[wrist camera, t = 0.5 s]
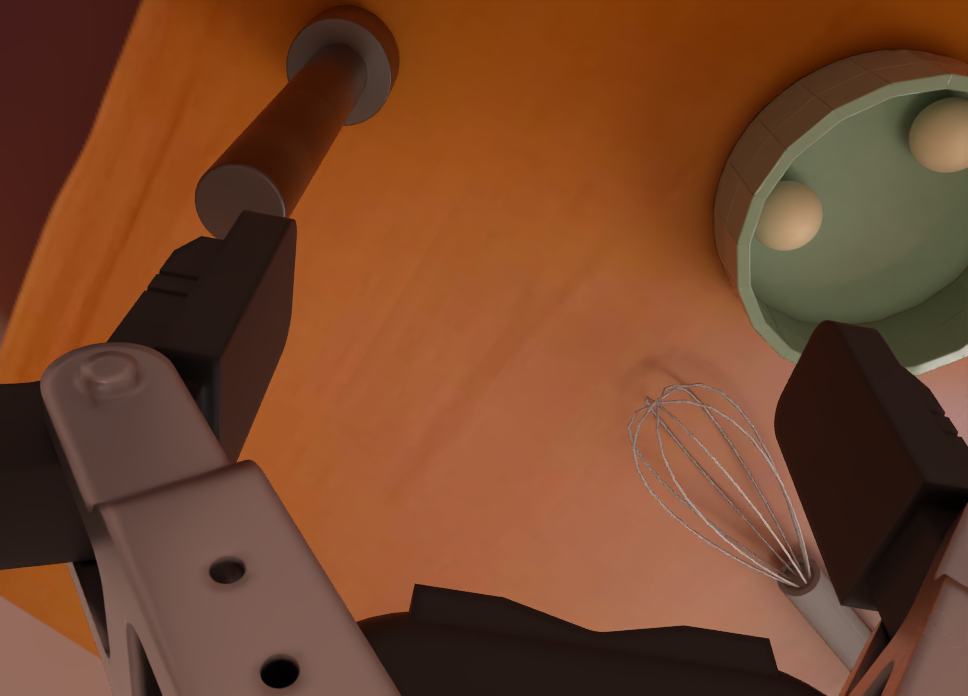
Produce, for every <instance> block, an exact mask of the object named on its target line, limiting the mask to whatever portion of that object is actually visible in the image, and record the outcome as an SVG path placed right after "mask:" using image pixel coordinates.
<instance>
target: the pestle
mask: <svg viewBox="0 0 968 696" xmlns="http://www.w3.org/2000/svg"><path fill="white" fill-rule="evenodd" d="M286 67H287V77H288V81H289V83H288V84H287V85H286V86H285V87H284V88H283V89H282V90H281V91H280V93H279V94H278V95H277V96H276V97H275V98H274V99H273V100H272V101H271V102H270V103H269V104H268V106H267V107H266V108H265V109H264V110H263V111H262V112H261V113H260V114H259V115H258V116H257V117H256V119H255V120H254V121H253V122H252V123H251V124H250V125H249V126H248V127H247V128H246V129H245V130H244V131H243V133H242V134H241V135H240V136H239V137H238V138H237V139H236V140H235V141H234V142H233V143H232V144H231V146H230V147H229V148H228V149H227V150H226V151H225V152H224V153H223V154H222V155H221V156H220V157H219V159H218V160H217V161H216V162H215V163H214V164H213V165H212V166H211V167H210V168H209V169H208V170H207V171H206V173H205V174H204V175H203V176H202V177H201V179H200V180H199V182H198V184H197V187H196V191H195V206H196V210H197V213H198V216H199V218H200V220H201V222H202V224H203V225H204V226H205V228H206V229H207V230H208V231H209V232H210V233H211V234H212V235H213V236H214V237H216V238H217V239H220V240H224V238H225V237H226V235H227V234H228V232H229V231H230V229H231V228H232V226H233V225H234V223H235V221H236V220H237V218H238V217H239V215H240V214H241V212H242V211H244V210H247V211H252V212H258V213H263V214H268V215H274V216H279V217H285V218H289V217H290V215H291V213H292V212H293V210H294V208H295V207H296V205H297V203H298V202H299V200H300V198H301V196H302V195H303V193H304V191H305V190H306V188H307V186H308V184H309V183H310V181H311V179H312V178H313V176H314V174H315V173H316V171H317V169H318V167H319V166H320V164H321V162H322V161H323V159H324V157H325V156H326V154H327V152H328V150H329V149H330V147H331V145H332V144H333V142H334V140H335V138H336V137H337V135H338V133H339V132H340V130H341V128H342V127H343V126H348V125H355V124H358V123H362V122H364V121H366V120H368V119H369V118H371V117H372V116H374V115H375V114H376V113H377V112H378V111H379V110H380V109H381V108H382V106H383V105H384V103H385V101H386V99H387V97H388V95H389V93H390V91H391V89H392V87H393V85H394V83H395V80H396V78H397V74H398V70H399V52H398V48H397V45H396V42H395V39H394V37H393V35H392V33H391V32H390V30H389V29H388V27H387V26H386V25H385V24H384V23H383V22H382V21H381V20H380V19H379V18H378V17H376V16H375V15H374V14H372V13H370V12H368V11H366V10H364V9H361V8H358V7H353V6H339V7H334V8H331V9H328V10H326V11H324V12H322V13H321V14H320V15H318V16H317V17H316V18H315V19H313V20H312V21H311V22H310V23H309V24H308V25H307V26H306V27H305V28H303V29H302V30H301V31H300V32H299V33H298V35H297V36H296V37H295V39H294V40H293V42H292V44H291V46H290V49H289V52H288V56H287V64H286Z"/></svg>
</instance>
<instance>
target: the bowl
mask: <svg viewBox="0 0 968 696" xmlns="http://www.w3.org/2000/svg"><path fill="white" fill-rule="evenodd" d="M950 97H962V98H967V99H968V64H966V63H964V62H961V61H959V60H957V59H954V58H951V57H945V56H942V55H938V54H933V53H929V52H925V51H916V50H905V49H900V50H881V51H875V52H869V53H864V54H859V55H855V56H852V57H849V58H846V59H842V60H839V61H836V62H834V63H832V64H830V65H827V66H825V67H823V68H820V69H818V70H816V71H814V72H813V73H811V74H809V75H808V76H806V77H804V78H802V79H801V80H799V81H797V82H796V83H794V84H793V85H792V86H790V87H789V88H788V89H786V90H785V91H784V92H782V93H781V94H779V95H778V96H777V97H776V98H775V99H774V100H773V101H772V102H771V103H770V104H769V105H767V106H766V107H765V108H764V109H763V110H762V111H761V112H760V113H759V115H758V116H757V117H756V118H755V119H754V120H753V122H752V123H751V124H750V125H749V126H748V127H747V129H746V130H745V132H744V133H743V135H742V136H741V138H740V139H739V141H738V142H737V143H736V145H735V147H734V149H733V151H732V153H731V155H730V156H729V158H728V160H727V162H726V165H725V167H724V170H723V173H722V175H721V178H720V181H719V185H718V189H717V193H716V197H715V205H714V215H713V222H714V237H715V242H716V249H717V252H718V255H719V257H720V260H721V263H722V265H723V268H724V269H725V272H726V274H727V276H728V279H729V281H730V284H731V286H732V288H733V290H734V292H735V294H736V296H737V298H738V299H739V301H740V303H741V305H742V307H743V309H744V311H745V313H746V315H747V317H748V319H749V321H750V323H751V325H752V327H753V328H754V329H755V330H756V332H757V333H758V334H759V335H760V336H761V337H762V338H763V339H764V340H765V341H766V342H767V343H768V344H769V345H770V346H771V347H772V348H773V349H774V350H775V351H776V352H777V353H778V354H779V355H780V356H781V357H783V358H784V359H786V360H789V361H791V362H793V363H795V364H797V362H798V360H799V358H800V356H801V354H802V352H803V350H804V348H805V346H806V345H807V343H808V341H809V339H810V337H811V335H812V333H813V331H814V329H815V328H816V327H817V326H818V325H819V324H820V323H821V322H822V321H825V320H831V321H836V322H842V323H847V324H853V325H858V326H863V327H869V328H873V329H876V330H877V331H879V333H880V334H881V335H882V337H883V338H884V340H885V342H886V343H887V345H888V346H889V348H890V349H891V351H892V352H893V354H894V356H895V357H896V359H897V360H898V362H899V363H900V365H901V366H903V367H905V368H906V369H907V370H908V371H909V372H910V373H912V374H913V375H914V376H917V375H919V374H922V373H925V372H927V371H930V370H933V369H936V368H938V367H941V366H944V365H946V364H949V363H952V362H954V361H957V360H960V359H963V357H966V356H968V168H966V169H963V170H960V171H956V172H951V173H942V172H936V171H932V170H929V169H927V168H926V167H924V166H922V165H921V164H920V163H919V162H918V161H917V160H916V159H915V158H914V156H913V154H912V152H911V150H910V146H909V133H910V129H911V126H912V124H913V122H914V120H915V119H916V117H917V116H918V115H919V113H920V112H921V111H922V110H923V109H925V108H926V107H927V106H929V105H930V104H932V103H934V102H936V101H938V100H941V99H944V98H950ZM779 181H796V182H800V183H802V184H805V185H806V186H808V187H809V188H811V189H812V190H813V191H814V192H815V193H816V195H817V196H818V198H819V199H820V202H821V205H822V209H823V218H822V223H821V226H820V228H819V230H818V232H817V234H816V235H815V236H814V238H813V239H812V240H811V241H809V242H808V243H807V244H805V245H804V246H802V247H799V248H797V249H793V250H787V251H780V250H775V249H771V248H769V247H767V246H765V245H763V244H762V243H761V242H760V241H759V240H758V239H757V238H756V237H755V236H754V232H755V229H756V226H757V223H758V220H759V217H760V215H761V212H762V209H763V206H764V203H765V200H766V198H767V197H768V196H769V194H770V193H771V191H772V190H773V189H774V187H775V186H776V184H777V183H778V182H779Z"/></svg>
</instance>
